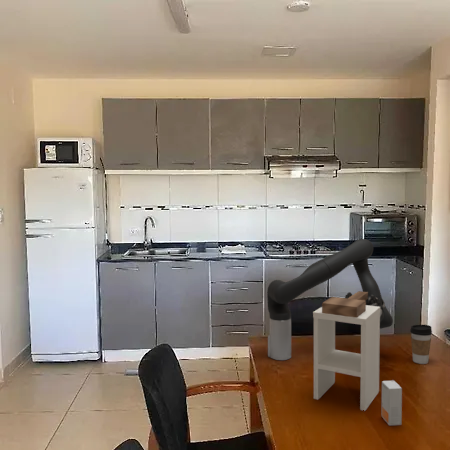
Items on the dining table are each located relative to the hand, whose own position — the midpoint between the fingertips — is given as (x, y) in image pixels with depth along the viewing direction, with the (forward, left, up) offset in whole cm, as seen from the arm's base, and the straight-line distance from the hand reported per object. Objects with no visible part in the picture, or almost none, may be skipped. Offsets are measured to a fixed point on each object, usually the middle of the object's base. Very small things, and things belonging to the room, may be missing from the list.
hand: (360, 296), depth 183 cm
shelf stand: (0, -15, -33) cm, 36 cm away
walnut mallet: (0, -10, -2) cm, 10 cm away
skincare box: (+18, -26, -33) cm, 46 cm away
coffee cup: (+16, +32, -33) cm, 49 cm away
